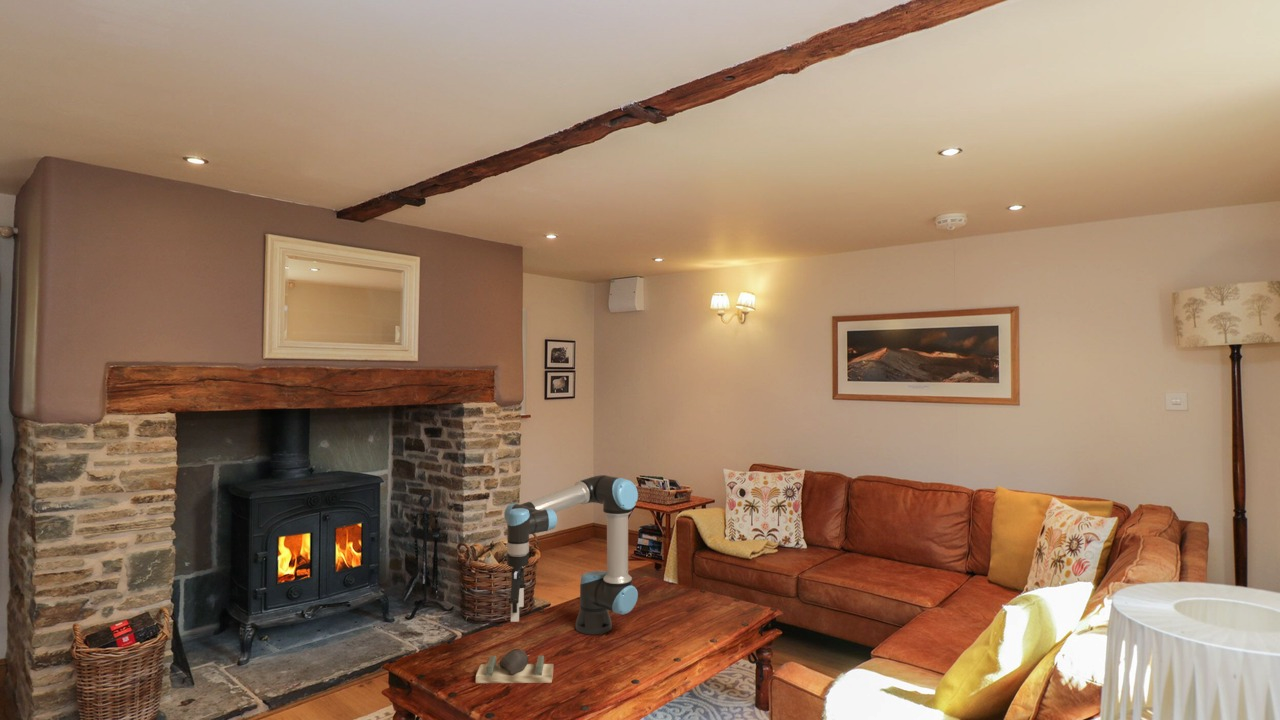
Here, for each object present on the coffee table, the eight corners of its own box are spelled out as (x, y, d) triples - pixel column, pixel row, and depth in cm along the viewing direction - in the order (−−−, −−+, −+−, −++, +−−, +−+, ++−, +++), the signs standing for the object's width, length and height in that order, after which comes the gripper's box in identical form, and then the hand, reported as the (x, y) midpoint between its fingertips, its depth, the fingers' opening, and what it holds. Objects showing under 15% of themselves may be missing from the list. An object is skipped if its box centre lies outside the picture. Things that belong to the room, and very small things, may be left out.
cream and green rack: (553, 670, 245) (553, 655, 245) (551, 682, 236) (551, 666, 236) (480, 671, 243) (480, 655, 243) (475, 683, 234) (476, 667, 234)
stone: (497, 683, 237) (510, 670, 232) (493, 659, 242) (505, 646, 237) (522, 680, 242) (535, 668, 237) (518, 657, 248) (530, 644, 243)
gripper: (511, 543, 252) (511, 600, 252) (502, 564, 227) (501, 627, 227) (532, 543, 252) (531, 600, 252) (524, 564, 227) (524, 627, 228)
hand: (517, 613), depth 240 cm, fingers open, 13 cm apart
